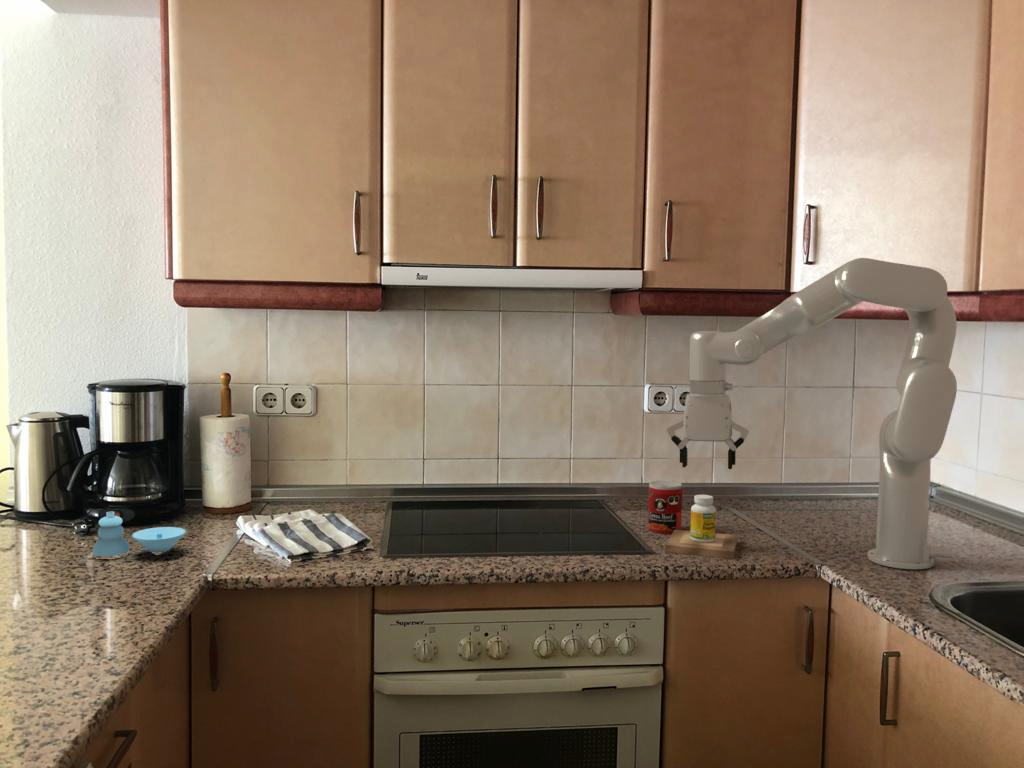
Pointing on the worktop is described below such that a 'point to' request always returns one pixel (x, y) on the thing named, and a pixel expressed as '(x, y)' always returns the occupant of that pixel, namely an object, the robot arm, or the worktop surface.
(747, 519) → the worktop surface
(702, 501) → the supplement bottle
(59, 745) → the worktop surface
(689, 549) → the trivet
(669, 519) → the canned food
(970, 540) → the worktop surface
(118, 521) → the light blue rounded pieces
